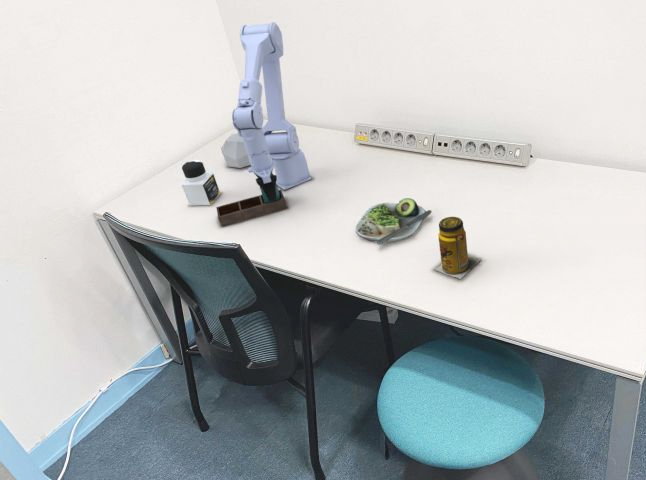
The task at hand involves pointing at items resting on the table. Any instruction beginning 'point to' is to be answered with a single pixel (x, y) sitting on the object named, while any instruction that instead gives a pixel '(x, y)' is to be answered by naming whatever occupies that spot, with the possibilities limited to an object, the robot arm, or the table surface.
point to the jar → (265, 195)
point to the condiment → (454, 248)
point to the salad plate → (391, 221)
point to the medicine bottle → (199, 184)
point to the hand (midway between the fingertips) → (271, 195)
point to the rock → (235, 152)
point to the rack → (248, 209)
